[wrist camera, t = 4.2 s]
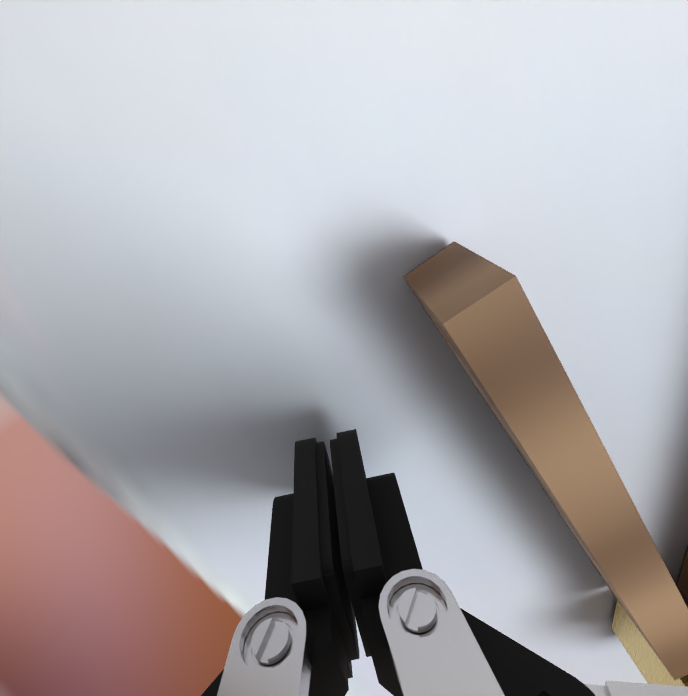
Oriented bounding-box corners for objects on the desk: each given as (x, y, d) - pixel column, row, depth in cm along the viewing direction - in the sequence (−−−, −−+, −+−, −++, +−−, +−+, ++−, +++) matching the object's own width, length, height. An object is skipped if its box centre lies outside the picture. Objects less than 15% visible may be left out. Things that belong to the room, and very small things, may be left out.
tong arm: (403, 276, 10) (442, 324, 7) (453, 241, 9) (516, 275, 7) (611, 591, 16) (674, 680, 13) (645, 576, 16) (716, 662, 13)
